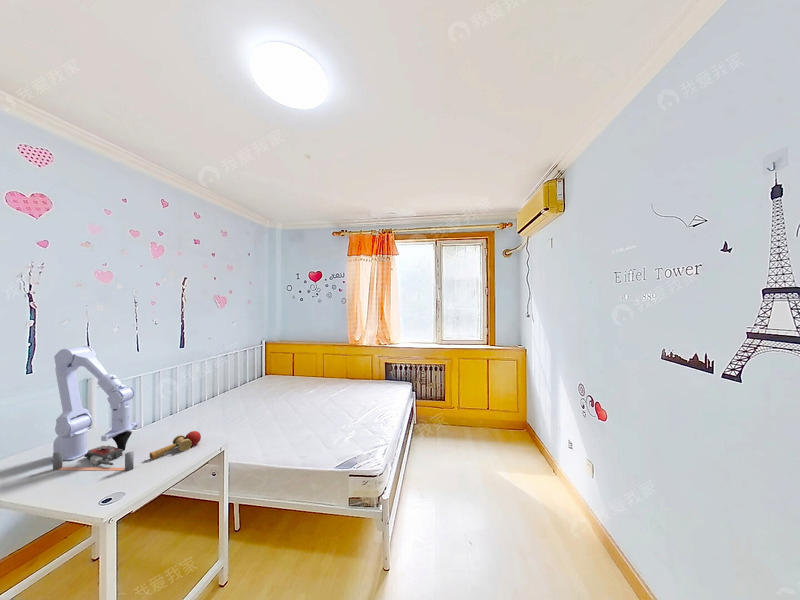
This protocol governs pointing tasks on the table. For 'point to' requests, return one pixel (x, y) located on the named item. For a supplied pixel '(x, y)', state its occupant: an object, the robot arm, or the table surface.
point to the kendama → (179, 444)
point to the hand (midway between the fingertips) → (121, 450)
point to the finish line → (58, 466)
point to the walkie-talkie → (103, 455)
